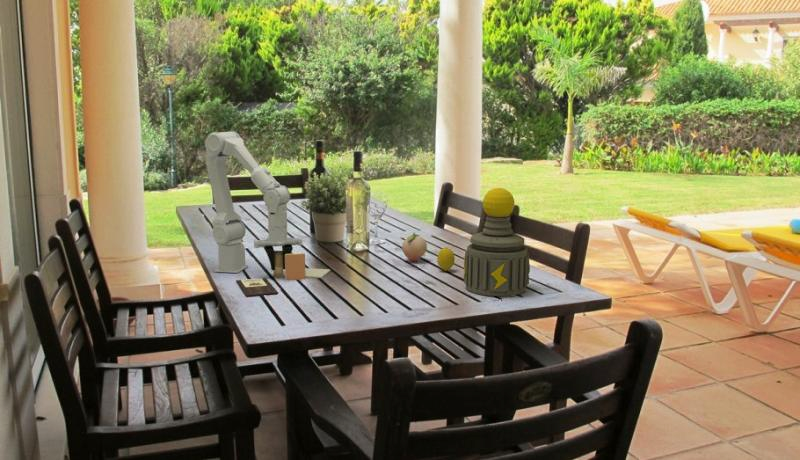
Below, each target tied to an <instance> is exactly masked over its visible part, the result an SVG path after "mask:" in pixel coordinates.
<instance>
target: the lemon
mask: <svg viewBox="0 0 800 460" xmlns="http://www.w3.org/2000/svg"><path fill="white" fill-rule="evenodd" d="M436 260H437V265H438V266H439V268H440V269H442V270H443V271H444V272H448V270H450V269H451V268H452V267H453V266H454V265H455V253H454V252H453V250H452V249H451V248H450V247H447V246H445V247H444V248H441V249H440V250H439V252H438V253H437V259H436Z"/></svg>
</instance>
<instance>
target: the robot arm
mask: <svg viewBox="0 0 800 460" xmlns="http://www.w3.org/2000/svg"><path fill="white" fill-rule="evenodd" d="M204 146H205V150H206V152H205V164H206V170H207V173H208V174H207V175H208V178H209V184H210V188H211V192H212V197H213V198H212V199H213V203H214V206H215V211H216V215H215V217H214V219H213V220H212V230H211V231H212V233H211V234H212V237H213V240H214V241H215V242H216V245H217V250H218V251H217V254H218V267H217V268H215V269H214V270H213V272H214V273H231V274H232V273H233V274H238V273H241V271H243V270H245V269H246V268H249V265H248V264H246V247H245V245H244V244H243V238H244V237H245V236H246V230H247V229H246V226H245V224H244V223H243V221H242V217H241V216H240V214H238V213H237V212H236V211H235V209H234V203H233V198H232V194H231V188H230V184H229V183H230V182H229V178H228V174H227V170H226V165H225V163H226V161H227V160H228V159H229V157H235V159H236V160H237V161H239V163H240V164H241V165H242V166H243V167H244V168H245V169H246V170H247V171H248V173H250V175H251V176H250V179H251V181H252V183H253V184H254V185H255V186H256V187H257V189H258V190H259V191H260V193H262V195H263V198H262V199H263V202H264V204H265V205H266V211H267V224H268V238H267V239H259V240H253V247H254V249H258V248H264V251H265V254H266V255H267V258H268V260H269V264H270V269H271V270H272V271H274V270H275V265H274V251H275V249H274V247H275V248H276V247H281V249H282V250H281V251H283V265H284V270H285V254H292V252H293V246H303V239H302V238H301V237H300V238H299V237H298V238H296V237H295V238H292V237H291V238H290V237H288V209H287V208H288V207H287V206H288V203H289V202H290V200H291V192H290V190H289V189H288V187H287V186H286V185H282V184H280V182H278V181H277V180H276V178H275V177H273V175H272V173H271V170H269V169H267V168H266V167H261V166H260V165H259V164H258V162H257V161H256V159H255V158H254V157H253V155H252V154H251V153H250V151H249V150H248V148H247V147H246V146H245V143H244V139H243V138H242V137H241V136H240V134H239V133H238V132H236V131H234V130H232V131H231V130H230V131H222V132H217V131H214V132H213V131H212V132H211V133H209V134H208V135H207V137H206V138H205V140H204Z"/></svg>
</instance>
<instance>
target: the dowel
mask: <svg viewBox="0 0 800 460" xmlns="http://www.w3.org/2000/svg"><path fill="white" fill-rule="evenodd" d="M274 265H275V270H273V278H274V279H281V278H285V269H284V265H283V251H282V250H274Z"/></svg>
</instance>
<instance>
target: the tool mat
mask: <svg viewBox="0 0 800 460" xmlns="http://www.w3.org/2000/svg"><path fill="white" fill-rule="evenodd" d="M329 272H331V269H329V268H328V269H327V268H309V267H308V268H307V267H305V278H311V279H313V278H314V279H323V278H324V277H325V276H326V275H327V274H328V273H329Z"/></svg>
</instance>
